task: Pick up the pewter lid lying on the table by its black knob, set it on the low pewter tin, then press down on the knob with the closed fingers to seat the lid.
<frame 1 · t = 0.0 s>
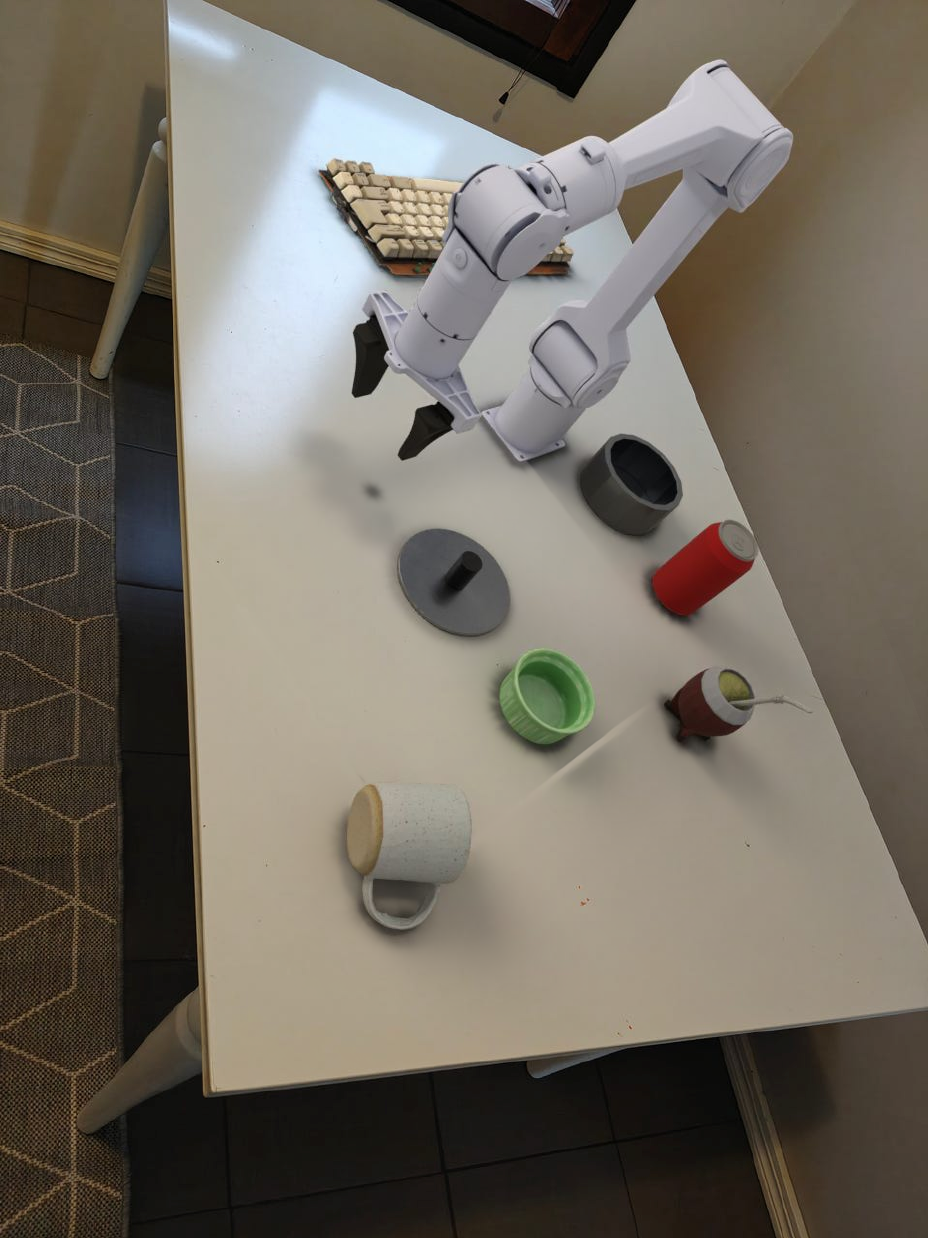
hand: (383, 424, 80), 10 cm above the table, tool pointing down, fingers open, 7 cm apart
ceramic mug: (392, 862, 69), on the table
tin lid: (453, 582, 87), point 1 cm above the table
beverage can: (669, 595, 104), on the table
ramekin: (531, 709, 84), on the table
mate gourd: (687, 726, 94), on the table
tin: (618, 497, 109), on the table
mechanical keyboard: (452, 229, 123), on the table
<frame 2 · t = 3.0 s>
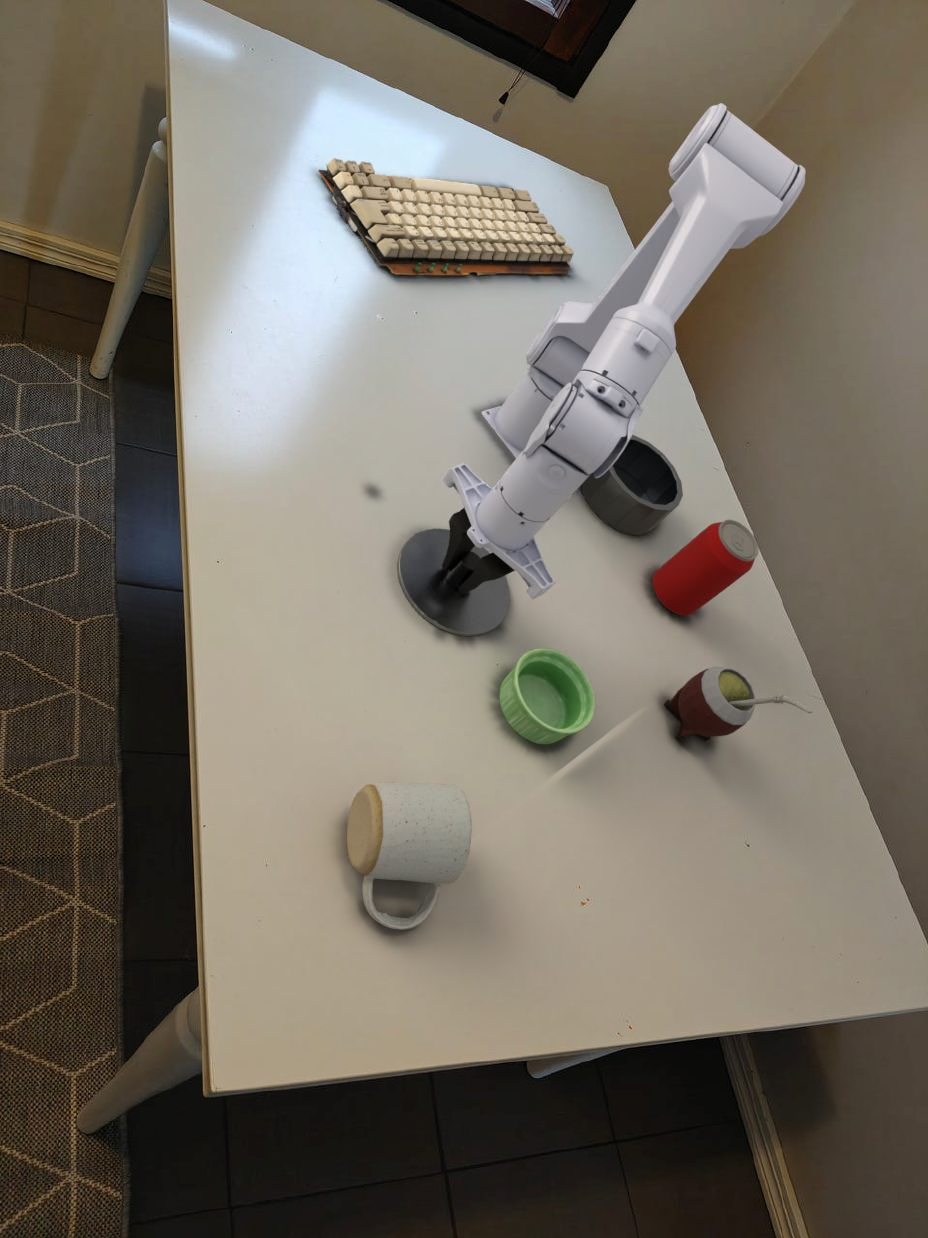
hand: (458, 576, 86), 2 cm above the table, tool pointing down, fingers closed on tin lid, 2 cm apart
tin lid: (453, 582, 87), point 1 cm above the table, touching gripper
everything else where it was.
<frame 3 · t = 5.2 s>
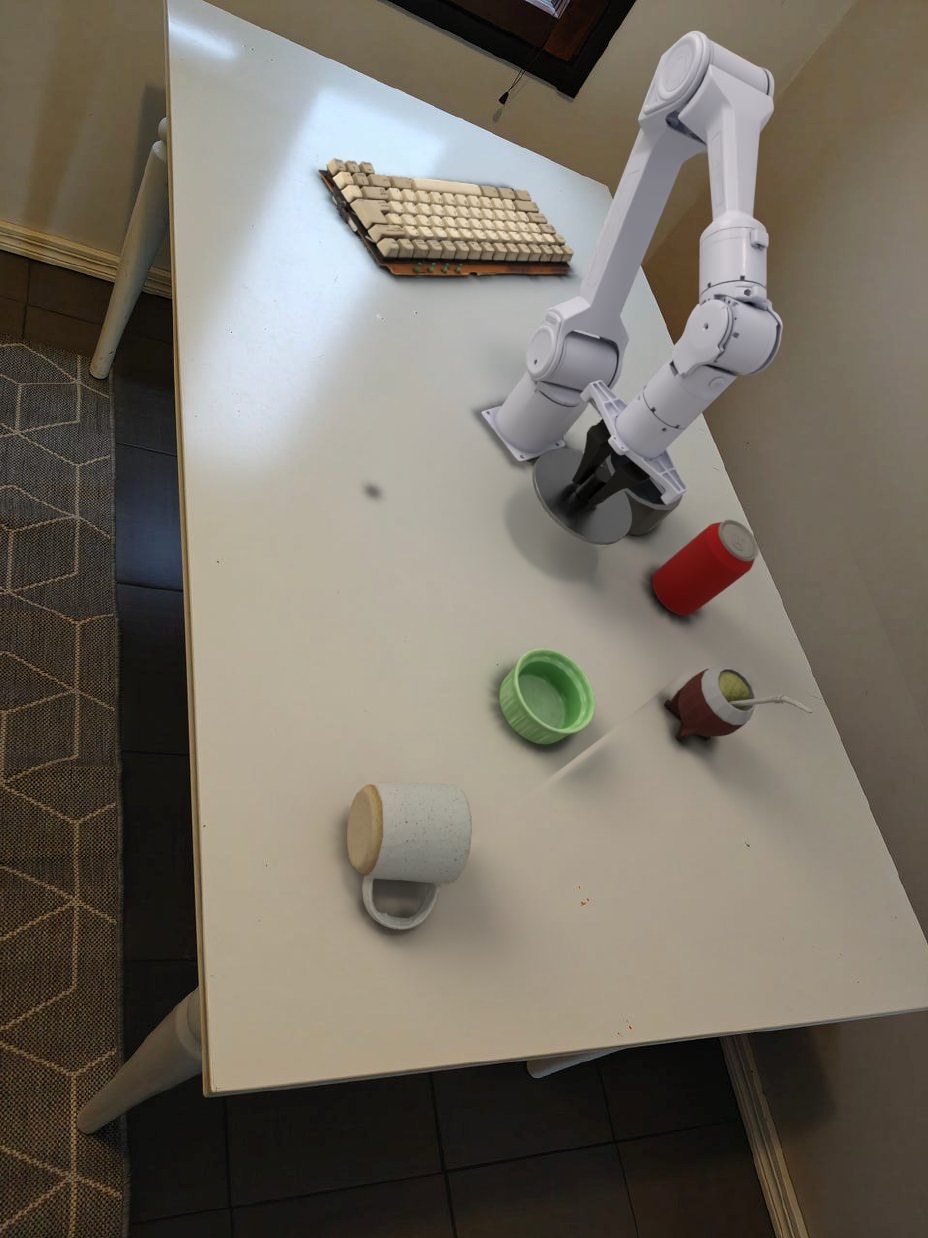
hand: (586, 490, 92), 8 cm above the table, tool pointing down, fingers closed on tin lid, 2 cm apart
tin lid: (581, 496, 93), point 7 cm above the table, touching gripper
everything else where it was.
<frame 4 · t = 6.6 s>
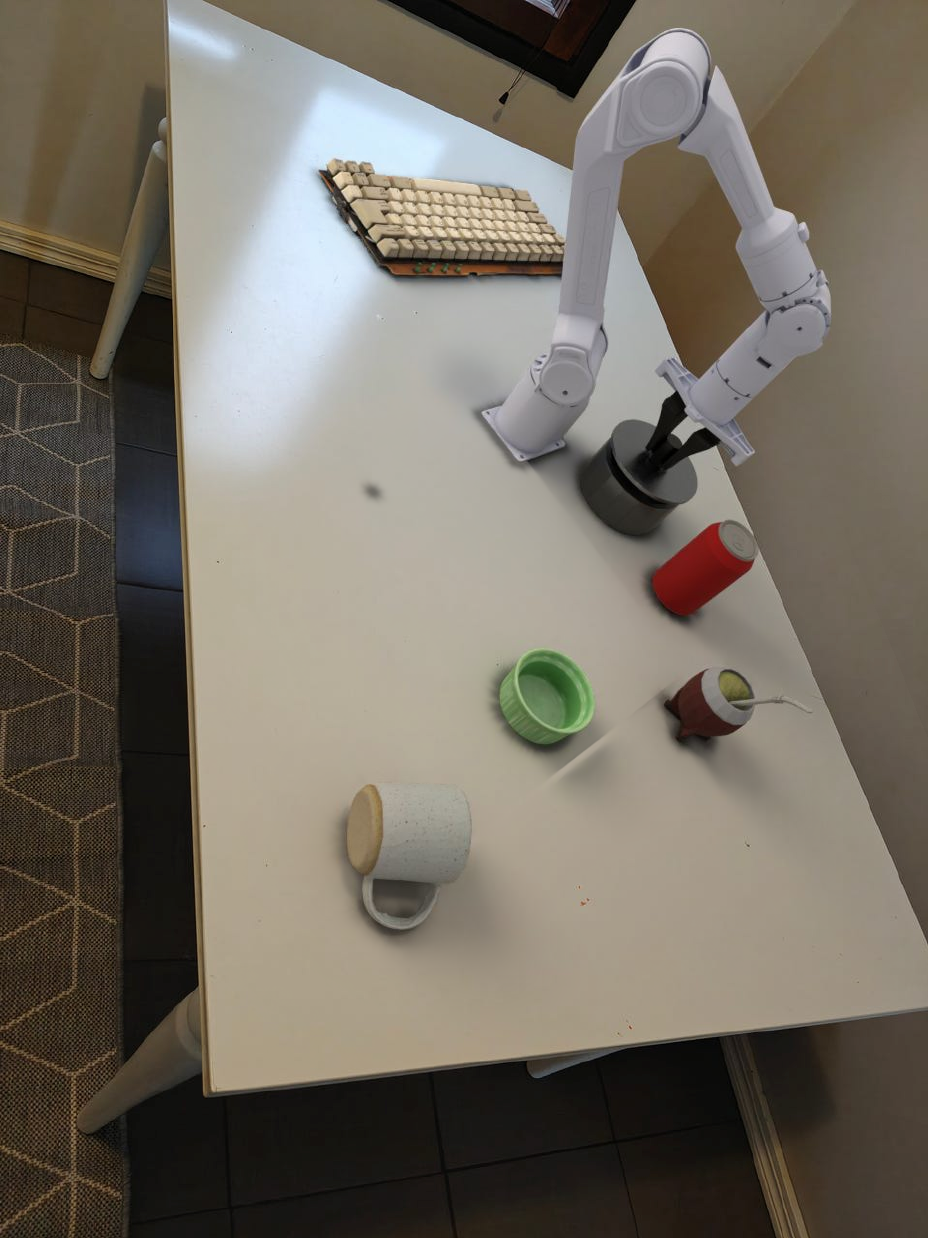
hand: (658, 457, 102), 8 cm above the table, tool pointing down, fingers closed on tin lid, 2 cm apart
tin lid: (653, 462, 103), point 7 cm above the table, touching gripper
everything else where it was.
when the fingers open (6 cm above the table, at t = 7.4 s): tin lid stays where it is, resting on tin.
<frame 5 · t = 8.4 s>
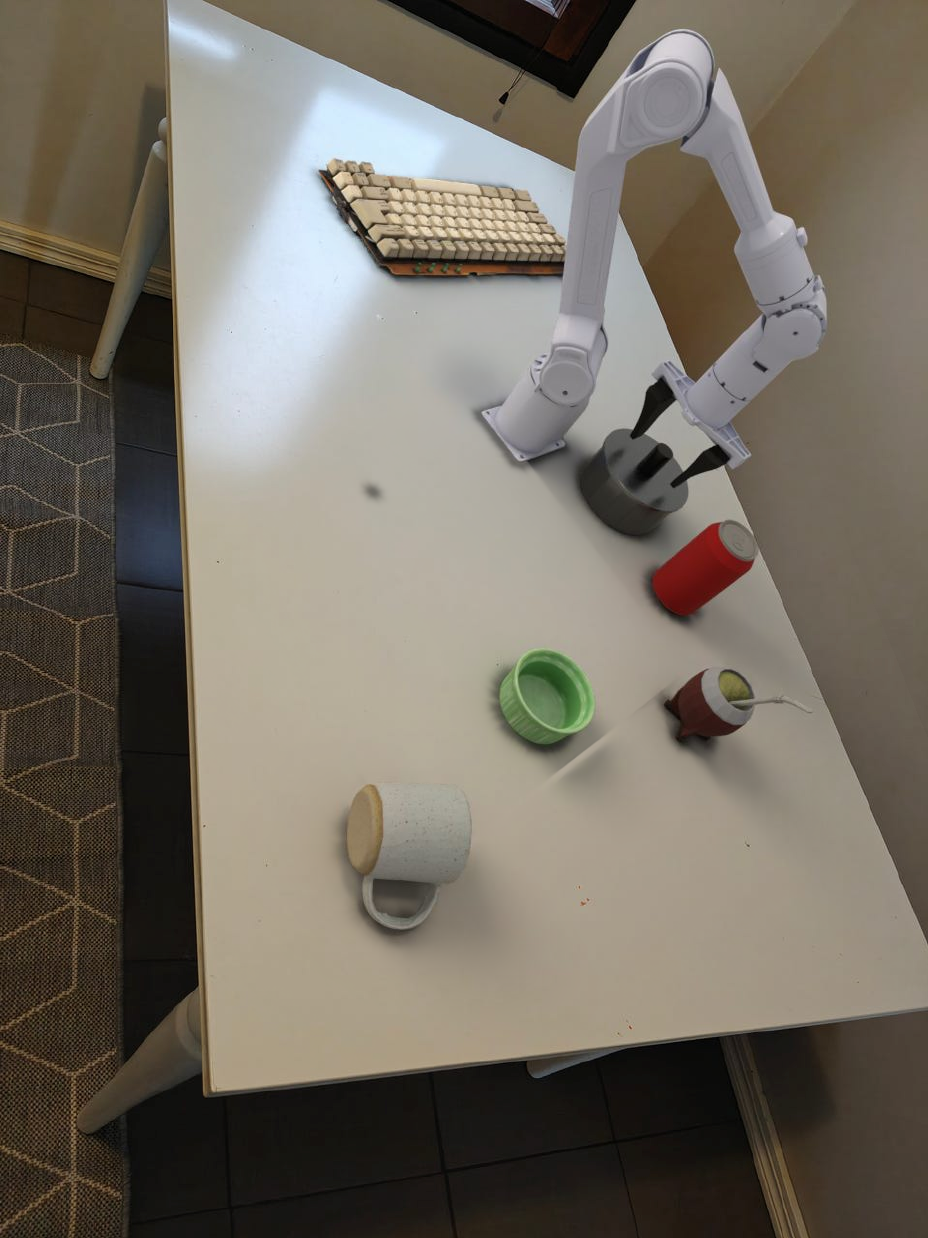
hand: (655, 459, 103), 8 cm above the table, tool pointing down, fingers open, 7 cm apart
tin lid: (644, 471, 105), point 5 cm above the table, touching tin
everything else where it was.
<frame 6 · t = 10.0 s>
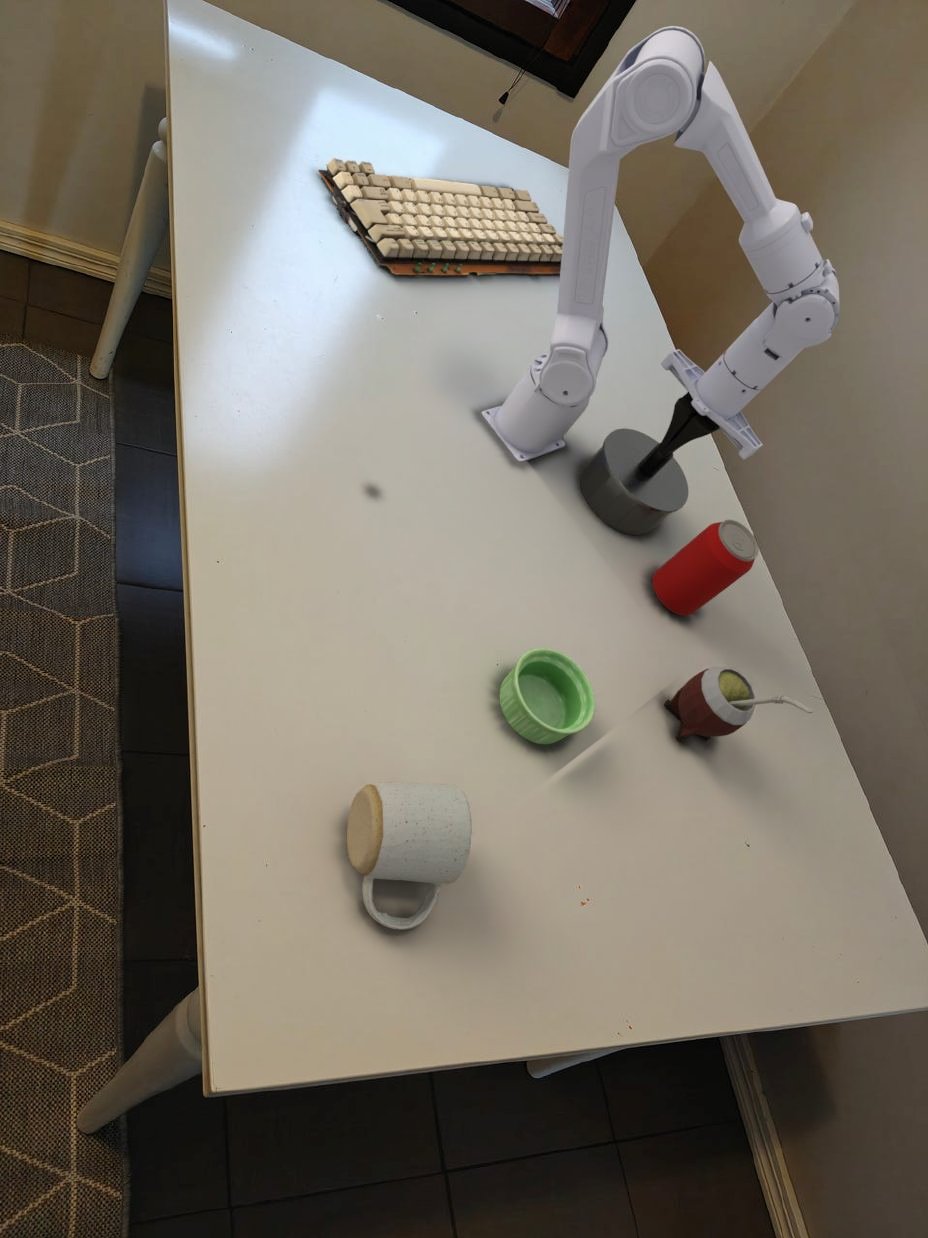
hand: (664, 451, 102), 9 cm above the table, tool pointing down, fingers closed, pressing on tin lid
tin lid: (644, 471, 105), point 5 cm above the table, touching gripper, tin
everything else where it was.
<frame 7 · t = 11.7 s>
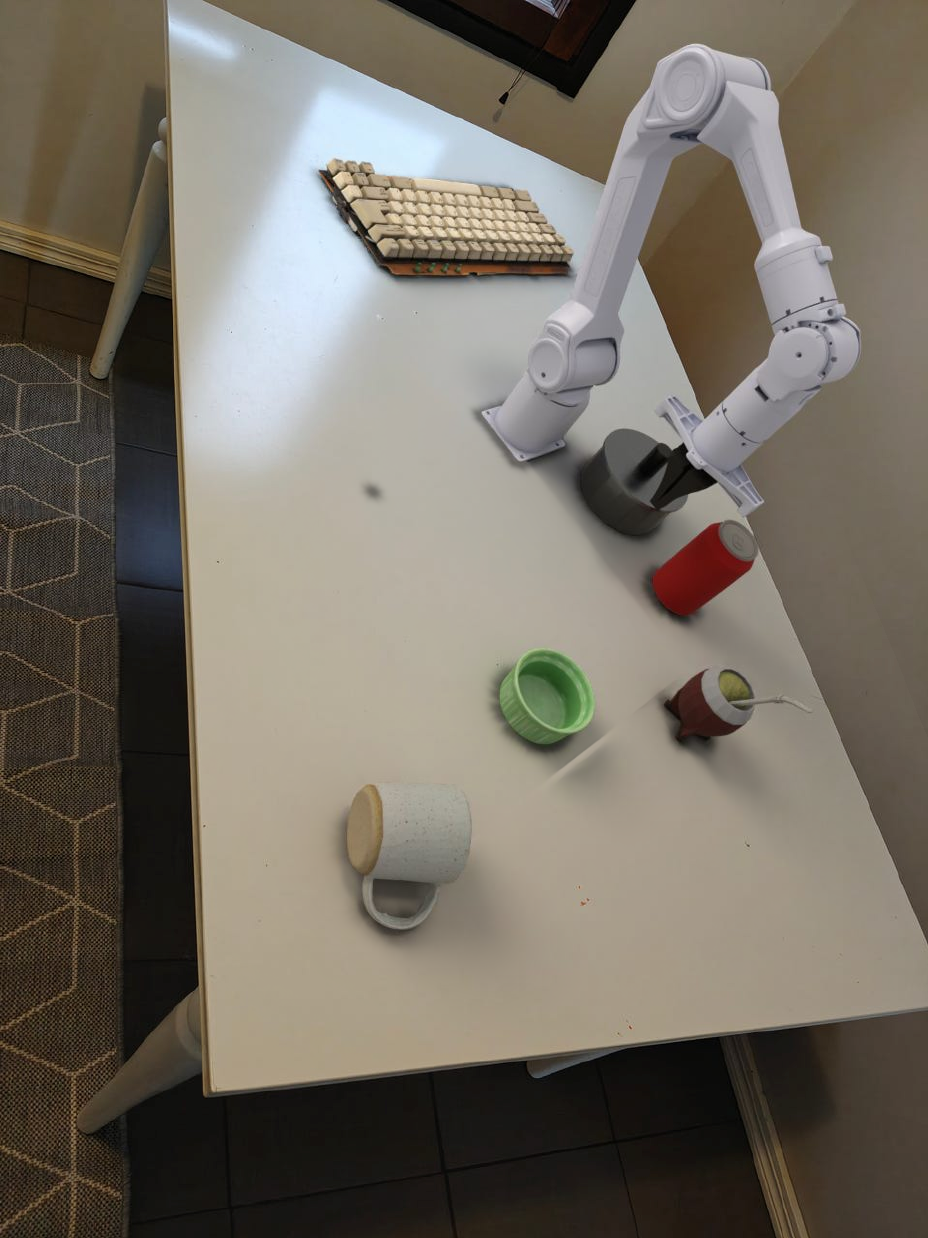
hand: (657, 503, 93), 10 cm above the table, tool pointing down, fingers closed
tin lid: (644, 471, 105), point 5 cm above the table, touching tin
everything else where it was.
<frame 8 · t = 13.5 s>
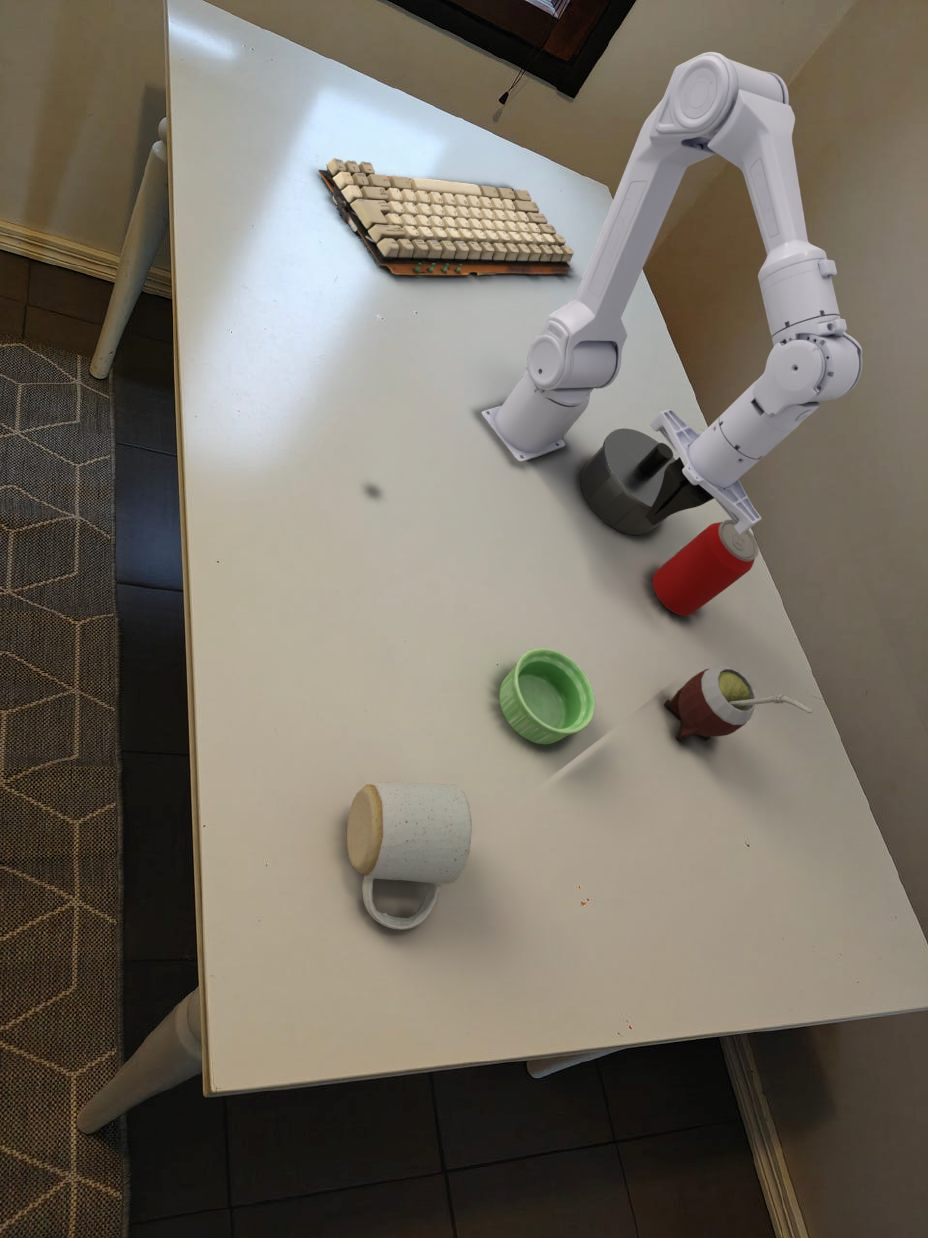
hand: (653, 518, 92), 10 cm above the table, tool pointing down, fingers closed
nothing on the table moved.
at the end: tin lid 0.0 cm off-centre on the tin, point 5.4 cm above the tin's base; tin lid tilted 0°; the gripper is holding nothing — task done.
